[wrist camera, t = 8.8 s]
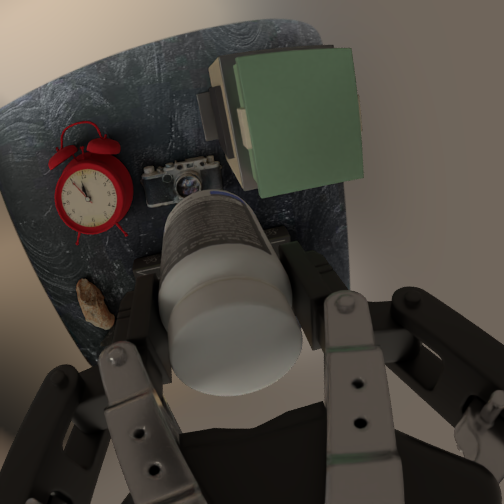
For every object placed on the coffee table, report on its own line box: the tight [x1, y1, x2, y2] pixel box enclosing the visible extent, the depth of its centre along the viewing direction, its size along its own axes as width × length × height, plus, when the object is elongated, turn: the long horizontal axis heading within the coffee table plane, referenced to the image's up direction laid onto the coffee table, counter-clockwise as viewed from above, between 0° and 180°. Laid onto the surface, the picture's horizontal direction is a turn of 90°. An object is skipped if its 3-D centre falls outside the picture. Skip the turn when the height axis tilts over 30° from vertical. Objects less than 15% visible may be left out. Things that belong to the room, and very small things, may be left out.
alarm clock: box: [49, 121, 133, 245], centre depth 35 cm, size 10×6×15 cm
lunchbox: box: [233, 48, 364, 198], centre depth 24 cm, size 11×9×4 cm
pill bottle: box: [158, 190, 302, 396], centre depth 13 cm, size 5×5×8 cm
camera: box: [140, 156, 223, 208], centre depth 38 cm, size 5×10×4 cm, turn 95°
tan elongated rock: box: [76, 279, 115, 330], centre depth 45 cm, size 10×4×5 cm
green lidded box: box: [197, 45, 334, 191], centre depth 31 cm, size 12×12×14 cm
